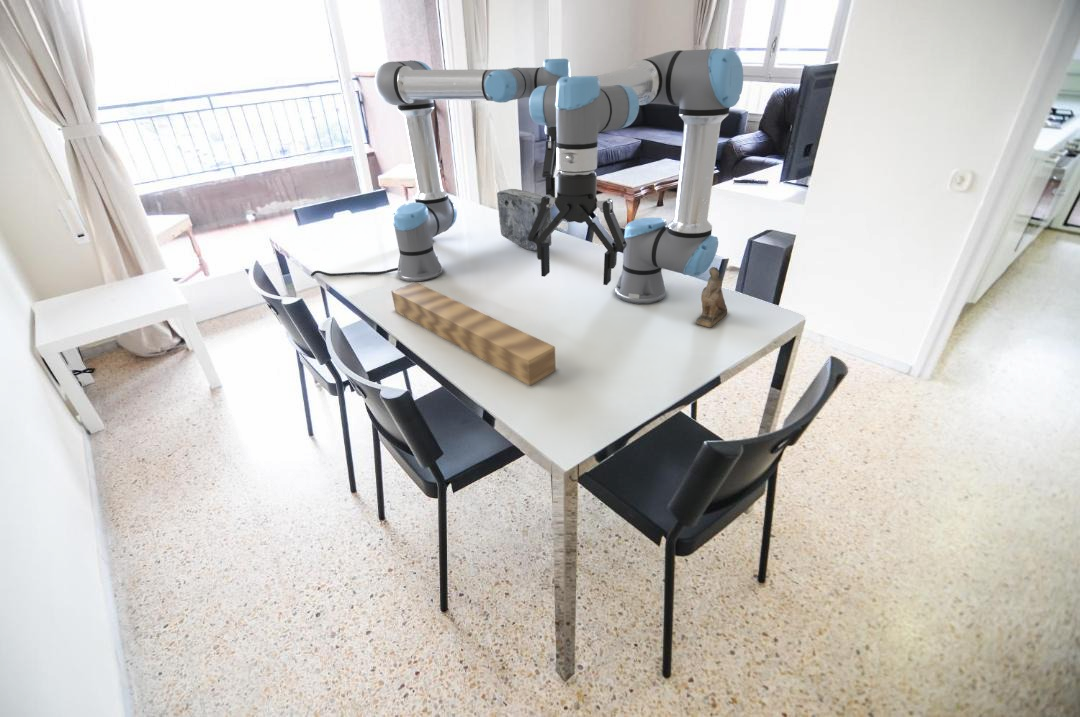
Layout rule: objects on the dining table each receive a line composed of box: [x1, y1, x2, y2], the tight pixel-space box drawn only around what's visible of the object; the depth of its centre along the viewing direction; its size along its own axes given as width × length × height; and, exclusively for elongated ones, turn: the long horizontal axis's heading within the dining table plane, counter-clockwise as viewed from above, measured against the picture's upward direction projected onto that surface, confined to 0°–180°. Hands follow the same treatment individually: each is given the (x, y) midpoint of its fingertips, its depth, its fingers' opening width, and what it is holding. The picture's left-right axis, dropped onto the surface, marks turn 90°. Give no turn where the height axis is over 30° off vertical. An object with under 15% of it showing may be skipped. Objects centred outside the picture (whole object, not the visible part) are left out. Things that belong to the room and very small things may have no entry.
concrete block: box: [496, 188, 552, 251], centre depth 192 cm, size 27×9×20 cm, turn 36°
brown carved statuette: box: [695, 266, 728, 328], centre depth 135 cm, size 12×6×18 cm, turn 136°
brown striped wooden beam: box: [391, 281, 556, 386], centre depth 133 cm, size 59×9×7 cm, turn 45°
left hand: (558, 194), depth 156 cm, fingers open, 13 cm apart
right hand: (575, 278), depth 103 cm, fingers open, 13 cm apart
